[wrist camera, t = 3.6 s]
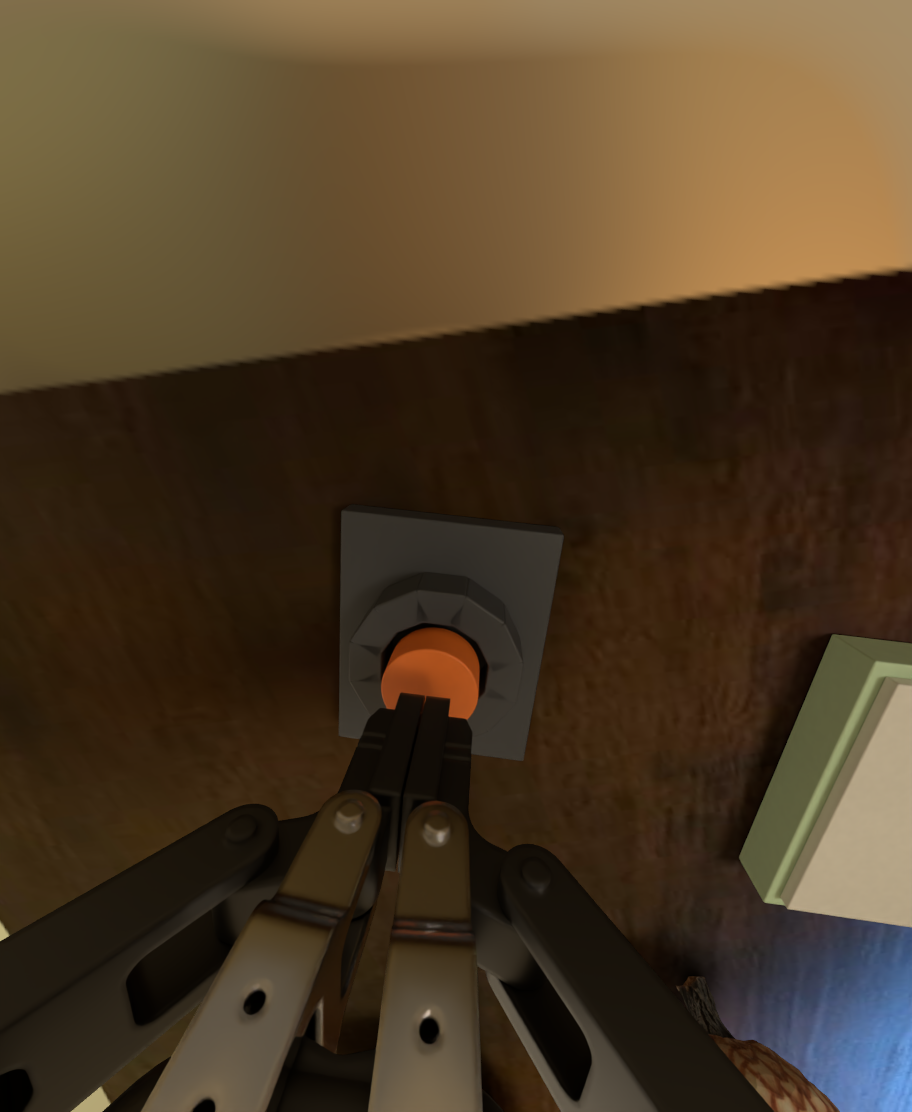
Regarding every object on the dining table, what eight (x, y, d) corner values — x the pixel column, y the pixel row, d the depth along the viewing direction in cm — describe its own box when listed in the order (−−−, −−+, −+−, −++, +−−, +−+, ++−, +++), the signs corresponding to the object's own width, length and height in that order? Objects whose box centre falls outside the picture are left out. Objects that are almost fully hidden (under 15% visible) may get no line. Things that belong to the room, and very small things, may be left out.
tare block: (350, 503, 16) (321, 521, 13) (559, 526, 16) (574, 550, 13) (347, 718, 19) (322, 769, 17) (521, 741, 19) (527, 797, 16)
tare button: (393, 621, 15) (382, 643, 13) (484, 632, 15) (484, 656, 13) (389, 698, 16) (378, 727, 14) (474, 709, 16) (472, 739, 14)
